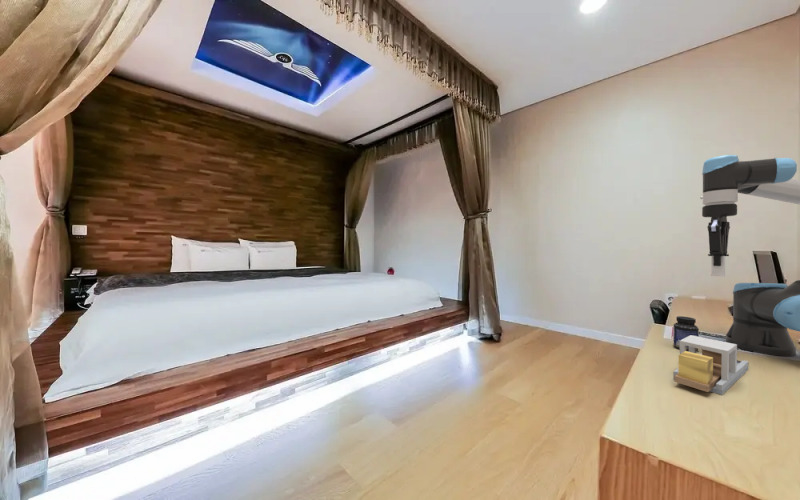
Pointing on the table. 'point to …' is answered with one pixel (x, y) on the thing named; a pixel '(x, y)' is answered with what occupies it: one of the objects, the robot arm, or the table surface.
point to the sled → (699, 369)
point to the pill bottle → (684, 330)
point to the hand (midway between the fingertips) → (718, 275)
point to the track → (728, 371)
